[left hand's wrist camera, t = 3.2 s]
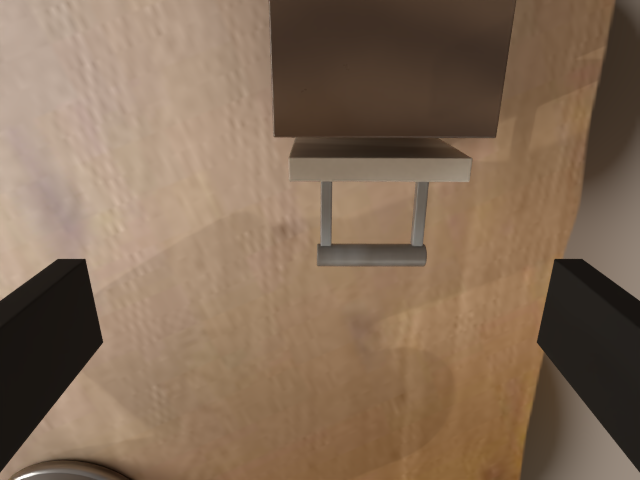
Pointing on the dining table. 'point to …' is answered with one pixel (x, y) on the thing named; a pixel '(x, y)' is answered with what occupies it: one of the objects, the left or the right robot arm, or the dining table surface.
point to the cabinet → (388, 67)
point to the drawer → (376, 166)
